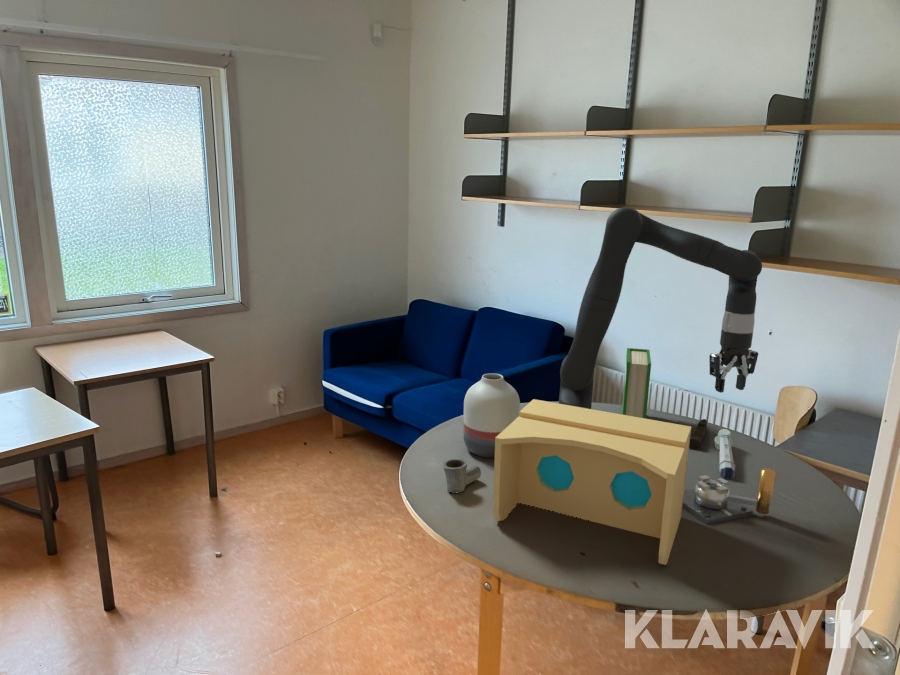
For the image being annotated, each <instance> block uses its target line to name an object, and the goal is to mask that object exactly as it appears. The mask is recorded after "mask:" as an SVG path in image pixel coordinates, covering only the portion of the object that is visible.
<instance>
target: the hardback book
mask: <svg viewBox="0 0 900 675" xmlns="http://www.w3.org/2000/svg"><path fill="white" fill-rule="evenodd" d="M625 357H626V358H625V367H624V368H625V369H624V370H625V371H624V381H623V393H622V406H621V414H622V415H627V416H633V417H639V418H645V419H647V413H648V412H647V411H648V402H649V401H648V400H649V392H650V391H649V390H650V389H649V388H650V381H651V379H650V378H651V371H652V370H651V369H652V361H651V360H652V359H651V352H650V349H647V348H633V347H627V348H626V355H625Z"/></svg>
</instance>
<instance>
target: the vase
mask: <svg viewBox="0 0 900 675" xmlns="http://www.w3.org/2000/svg"><path fill="white" fill-rule="evenodd" d="M519 411H521V401H520V396H519V393H518V392H517V390H516V389H515V388H514V387H513V386H512V385H511V384H510V383H508V382H507V381H506V380H505V379H504V376H503V375H502V374H499V373H490V372H489V373H484V374H483V375H482V376H481V379H480V380H479V381H477V382H476V383H474V384H473V385H471V386H470V387H469V388H468V389H467V391H466V393H465V396H464V400H463V425H462V426H463V428H462V429H463V435H462V436H463V441H464V446H465V447H466V449H467V450H468V451H469V452H471V453H472V454H474V455H476V456H479V457H482V458H489V459H490V458H491V459H492V458H493V459H495V438H496V437H497V436H498V435H499V434H500V433H501V432H502V431H503V430H504V429H505V428H507V427H508V426H509V425H510V424H511V423H512V422H513V421H514V420H515V419H516V418H518V417H519Z"/></svg>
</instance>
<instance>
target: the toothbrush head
mask: <svg viewBox="0 0 900 675" xmlns="http://www.w3.org/2000/svg"><path fill="white" fill-rule="evenodd" d="M733 445H734V440H733V439H732V433H731V431H730V430H728V429H727V428H721V429H720V430H719V431H718V433H717V435H716V436H715V437H714V448H715V449H716V450H717V449H718V451H719V450H720V451H719V462H718V468H717V469H718V470H719V476H720V478H723V479H726V478H728V480H732V479H733V478H735V474H736V473H735V472H736V466H737V465H736V464H735V462H734V457H733V451H732V446H733Z"/></svg>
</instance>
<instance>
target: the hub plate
mask: <svg viewBox="0 0 900 675" xmlns="http://www.w3.org/2000/svg"><path fill="white" fill-rule="evenodd" d="M695 489H696V488H693V489H688V490H684V496H683V505H682V508H684V509H686V510H687V511H688V512H689V513H691V514H692V515H693V516H695V517H696V518H698V519H699V520H700V521H701V522H703V523H704V524H705V525H710V524H714V523H715V524H716V523H720V522H725V521H730V520H736V519H740V518H745V517H751V516H753V514H754V510H752V509H751V508H749V507H748V506H747V505H746V504H742V503H737V502H732V501H728V505H727V507H725V508H721V509H713V508H708V507H705V506H702V505H700V504H699V503H697V502H696V501H695V499H694V497H695Z"/></svg>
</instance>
